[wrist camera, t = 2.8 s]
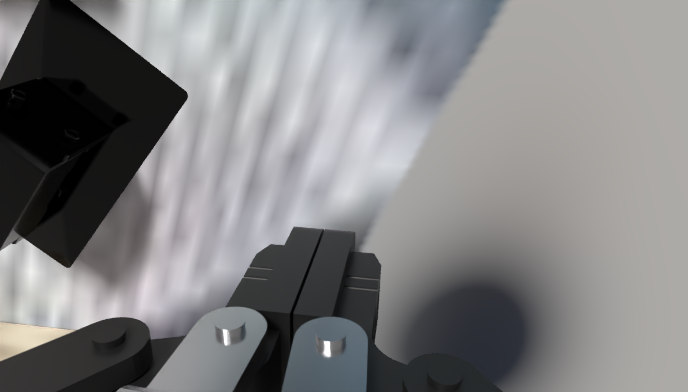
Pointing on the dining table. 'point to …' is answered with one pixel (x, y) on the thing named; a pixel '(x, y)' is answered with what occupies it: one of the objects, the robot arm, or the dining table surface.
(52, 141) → the black angular block
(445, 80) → the dining table surface
